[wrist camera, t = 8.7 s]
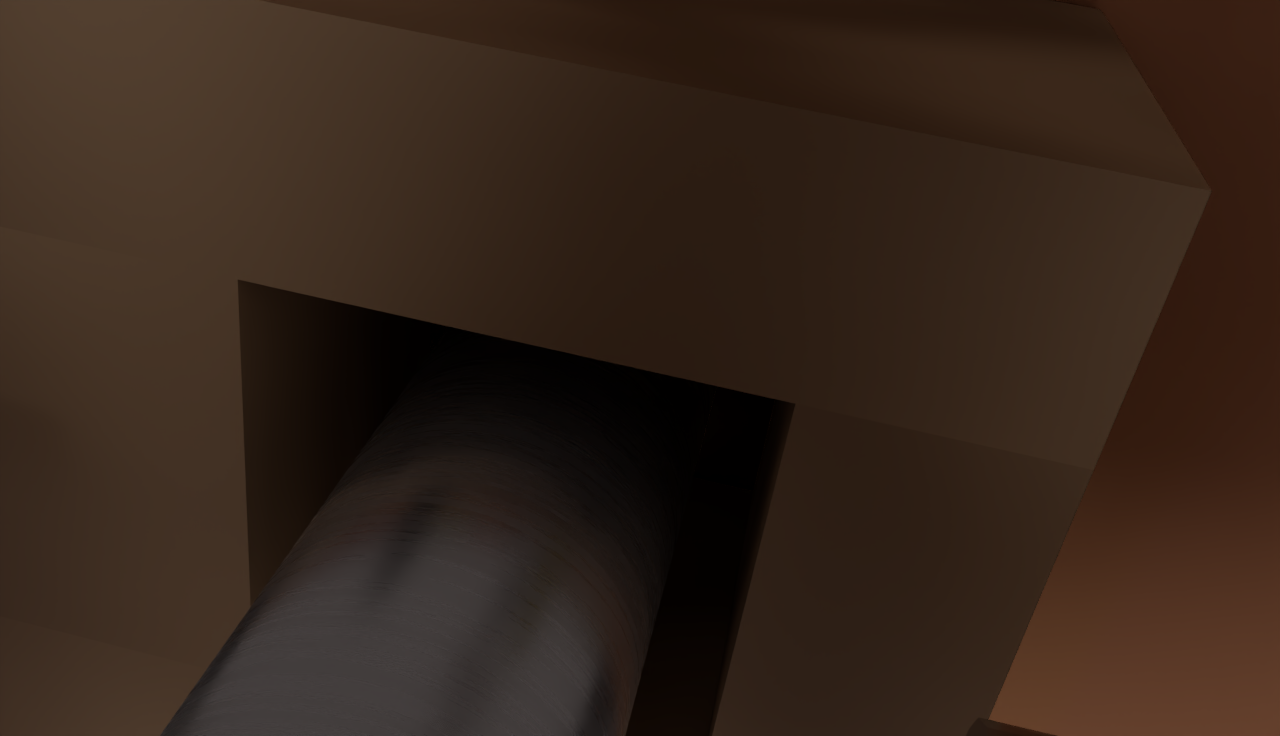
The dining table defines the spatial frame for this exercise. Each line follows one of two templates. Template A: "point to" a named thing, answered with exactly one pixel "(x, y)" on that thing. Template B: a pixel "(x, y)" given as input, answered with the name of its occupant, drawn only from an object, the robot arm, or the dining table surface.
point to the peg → (474, 559)
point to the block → (573, 313)
